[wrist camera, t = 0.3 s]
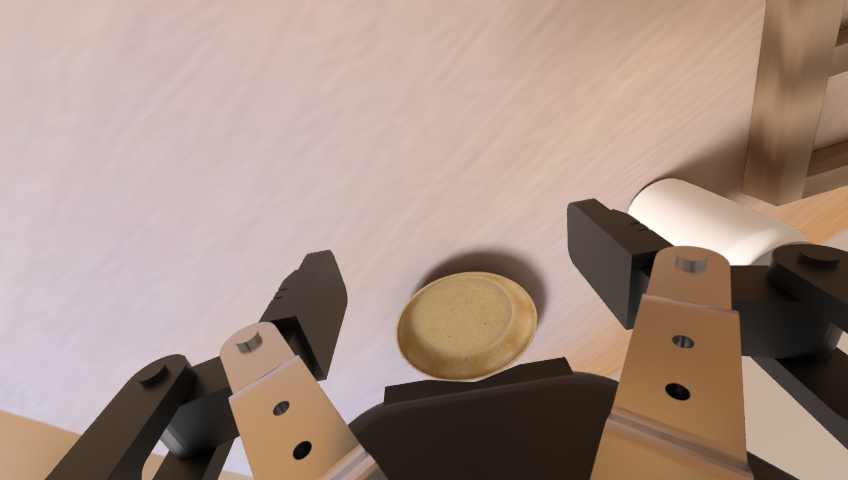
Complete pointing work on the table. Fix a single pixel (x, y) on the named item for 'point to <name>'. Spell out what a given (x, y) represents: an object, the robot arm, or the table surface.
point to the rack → (795, 102)
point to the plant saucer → (466, 326)
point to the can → (711, 222)
